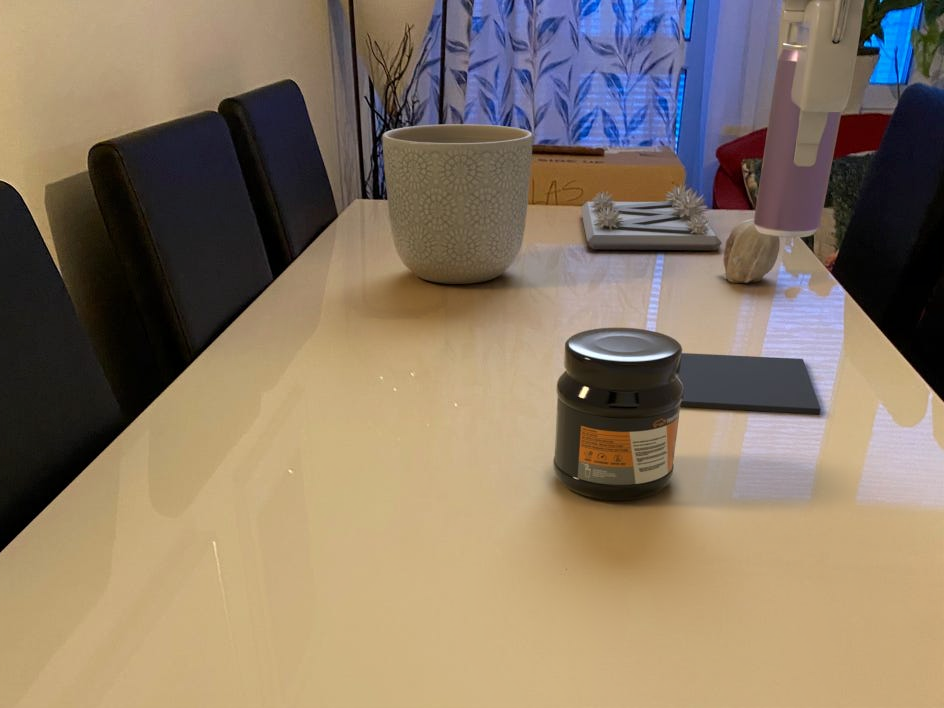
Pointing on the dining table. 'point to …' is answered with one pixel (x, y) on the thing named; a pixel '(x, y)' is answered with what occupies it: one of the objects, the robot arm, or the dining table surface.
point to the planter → (457, 198)
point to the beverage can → (791, 163)
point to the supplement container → (618, 413)
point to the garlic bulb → (749, 253)
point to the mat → (747, 383)
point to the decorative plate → (649, 224)
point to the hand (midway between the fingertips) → (797, 158)
